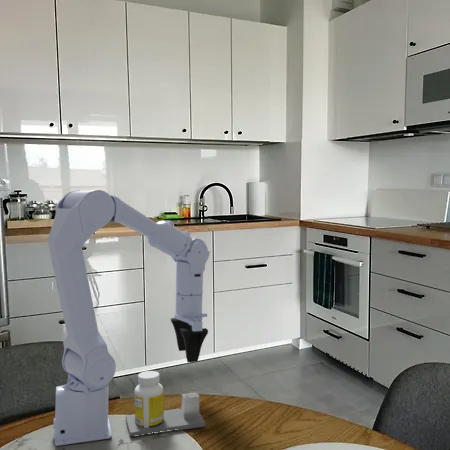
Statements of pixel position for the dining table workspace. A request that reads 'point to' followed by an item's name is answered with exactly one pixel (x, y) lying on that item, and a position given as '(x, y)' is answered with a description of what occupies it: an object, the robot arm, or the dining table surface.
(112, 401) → the dining table surface
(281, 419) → the dining table surface
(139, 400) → the supplement bottle
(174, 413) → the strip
